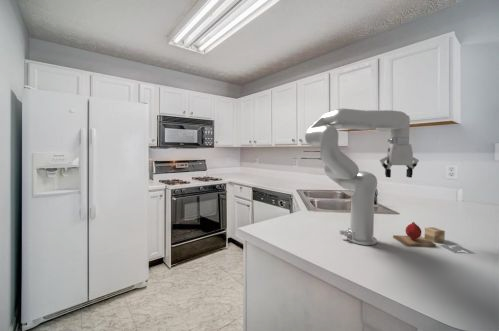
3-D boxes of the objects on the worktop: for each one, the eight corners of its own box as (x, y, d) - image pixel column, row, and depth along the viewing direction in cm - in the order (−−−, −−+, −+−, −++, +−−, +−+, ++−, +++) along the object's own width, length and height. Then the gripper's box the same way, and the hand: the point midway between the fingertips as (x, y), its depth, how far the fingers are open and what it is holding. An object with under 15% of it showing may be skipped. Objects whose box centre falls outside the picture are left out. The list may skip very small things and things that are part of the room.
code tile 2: (432, 242, 101) (432, 242, 101) (422, 238, 107) (422, 237, 107) (446, 243, 101) (446, 242, 101) (436, 238, 107) (436, 237, 107)
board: (406, 246, 97) (406, 243, 97) (393, 237, 107) (393, 235, 107) (435, 247, 97) (435, 244, 97) (419, 238, 107) (419, 235, 106)
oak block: (434, 242, 101) (434, 231, 101) (424, 238, 106) (424, 227, 106) (444, 241, 102) (444, 230, 102) (434, 237, 107) (434, 227, 107)
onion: (406, 236, 106) (406, 219, 106) (421, 239, 102) (422, 221, 102) (404, 239, 102) (405, 222, 101) (420, 243, 98) (421, 224, 98)
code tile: (454, 253, 90) (454, 253, 90) (439, 245, 98) (439, 245, 98) (476, 254, 90) (476, 253, 90) (459, 246, 98) (459, 245, 98)
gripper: (384, 141, 106) (383, 177, 107) (424, 140, 105) (422, 178, 105) (376, 142, 113) (376, 176, 114) (413, 141, 112) (412, 176, 113)
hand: (398, 177), depth 110 cm, fingers open, 9 cm apart
